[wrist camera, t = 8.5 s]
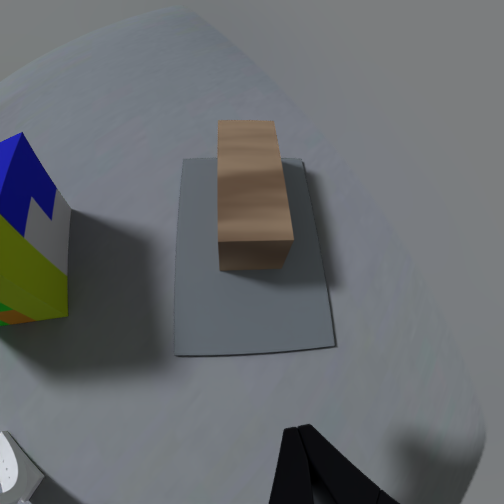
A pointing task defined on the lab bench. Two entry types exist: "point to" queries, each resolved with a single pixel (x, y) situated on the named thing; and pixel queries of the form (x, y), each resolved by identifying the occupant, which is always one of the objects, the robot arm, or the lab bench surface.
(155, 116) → the lab bench surface
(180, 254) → the slate mat
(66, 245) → the puzzle toy
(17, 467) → the headphone stand
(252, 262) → the walnut block
